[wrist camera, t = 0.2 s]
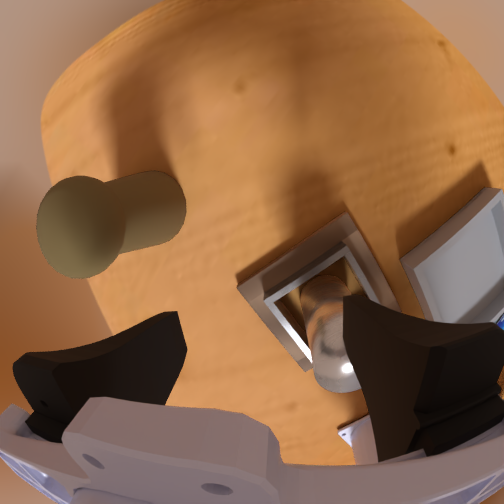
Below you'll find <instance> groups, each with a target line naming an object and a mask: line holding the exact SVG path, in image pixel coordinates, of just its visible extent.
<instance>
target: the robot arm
mask: <svg viewBox="0 0 504 504" xmlns="http://www.w3.org/2000/svg"><path fill="white" fill-rule="evenodd" d="M343 341H344V345H345V349H346V352H347V356H348V358H349V360H350V363H351V365H352V368H353V370H354V372H355V374H356V377H357V379H358V381H359V384H360V386H361V389H362V391H363V394H364V397H365V399H366V403H367V407H368V411H369V415H367V416H365V417H363V418H361V419H359V420H357V421H356V422H353V423H351V424H349V425H347V426H345V427H343V428H341V429H339V430H338V434H339V435H340V436H341V437H342V438H343V439H344V440H345V441H346V442H347V443H348V444H349V445H350V446H351V447H352V449H353V453H354V458H355V462H356V465H341V466H329V465H302V464H289V463H283V461H282V458H281V454H280V446H279V441H278V440H277V438H276V437H275V435H274V434H273V432H272V431H271V429H270V428H269V427H268V426H266V425H264V424H262V423H260V422H258V421H256V420H254V419H252V418H250V417H248V416H247V415H245V414H243V413H237V412H231V411H225V410H220V409H212V408H190V407H176V406H165V404H166V401H167V399H168V397H169V395H170V393H171V391H172V389H173V387H174V384H175V382H176V380H177V378H178V376H179V374H180V372H181V369H182V367H183V364H184V361H185V357H186V353H187V346H186V343H185V339H184V335H183V332H182V328H181V324H180V320H179V317H178V313H177V311H171V312H163V313H160V314H157V315H155V316H153V317H151V318H149V319H147V320H145V321H143V322H141V323H139V324H137V325H135V326H133V327H131V328H129V329H127V330H125V331H122V332H120V333H118V334H116V335H114V336H111V337H109V338H107V339H104V340H101V341H98V342H95V343H92V344H88V345H84V346H80V347H76V348H71V349H66V350H59V351H48V352H28V353H25V354H24V355H23V356H21V357H20V358H19V359H18V360H17V361H15V362H14V363H13V374H14V377H15V379H16V382H17V384H18V386H19V388H20V389H21V391H22V393H23V394H24V396H25V398H26V399H27V401H28V402H29V404H30V405H31V407H32V409H33V410H34V412H33V413H32V414H31V415H30V414H29V413H28V412H27V411H25V410H24V409H22V408H20V407H18V406H16V405H14V404H11V405H10V406H9V407H8V408H7V409H6V410H5V411H4V412H3V413H2V414H1V415H0V457H1V458H2V459H3V460H4V461H5V462H6V463H7V465H8V466H9V467H10V468H11V469H12V470H13V471H14V472H15V473H16V474H17V475H18V476H20V477H21V478H22V479H24V480H25V481H26V482H28V483H29V484H30V485H32V486H33V487H34V488H36V489H37V490H39V491H40V492H41V493H43V494H44V495H46V496H47V497H49V498H50V499H52V500H53V501H55V502H56V503H58V504H479V503H480V502H482V501H483V500H485V499H486V498H488V497H489V496H491V495H492V494H493V493H495V492H496V491H498V490H499V489H500V488H502V487H503V486H504V400H502V398H501V397H500V396H499V395H498V394H500V392H501V387H500V386H499V385H498V383H497V380H498V378H499V376H500V373H501V371H502V368H503V366H504V330H503V329H502V328H500V327H499V326H498V325H497V324H495V323H494V322H485V323H473V324H457V323H443V322H436V321H429V320H424V319H420V318H416V317H413V316H409V315H406V314H403V313H400V312H397V311H395V310H392V309H390V308H387V307H385V306H383V305H380V304H378V303H376V302H374V301H372V300H370V299H368V298H365V297H363V296H360V295H357V294H355V295H348V296H343Z"/></svg>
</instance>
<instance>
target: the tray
mask: <svg viewBox="0 0 504 504" xmlns="http://www.w3.org/2000/svg"><path fill="white" fill-rule="evenodd" d="M399 260H400V262H401V264H402V266H403V268H404V270H405V272H406V274H407V277H408V279H409V281H410V283H411V285H412V288H413V290H414V292H415V294H416V297H417V299H418V302H419V304H420V306H421V309H422V311H423V314H424V316H425V319H426V320H429V321H436V322H443V323H457V324H473V323H485V322H495V321H496V320H497V319H498V318H499V317H500V316H501V315H502V314H503V313H504V194H503V191H502V189H498V188H489V187H484V188H483V189H482V190H481V191H480V192H479V193H478V194H477V195H476V196H475V197H474V198H473V199H472V200H470V201H469V202H468V203H467V204H466V205H465V206H464V207H463V208H462V209H461V210H459V211H458V212H457V213H456V214H455V215H454V216H453V217H451V218H450V219H449V220H448V221H447V222H446V223H444V224H443V225H442V226H441V227H440V228H439V229H437V230H436V231H435V232H434V233H433V234H431V235H430V236H429V237H428V238H426V239H425V240H424V241H423V242H421V243H420V244H419V245H418V246H416V247H415V248H414V249H413V250H411V251H410V252H409V253H407V254H406V255H405V256H403V257H402V258H401V259H399Z"/></svg>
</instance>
